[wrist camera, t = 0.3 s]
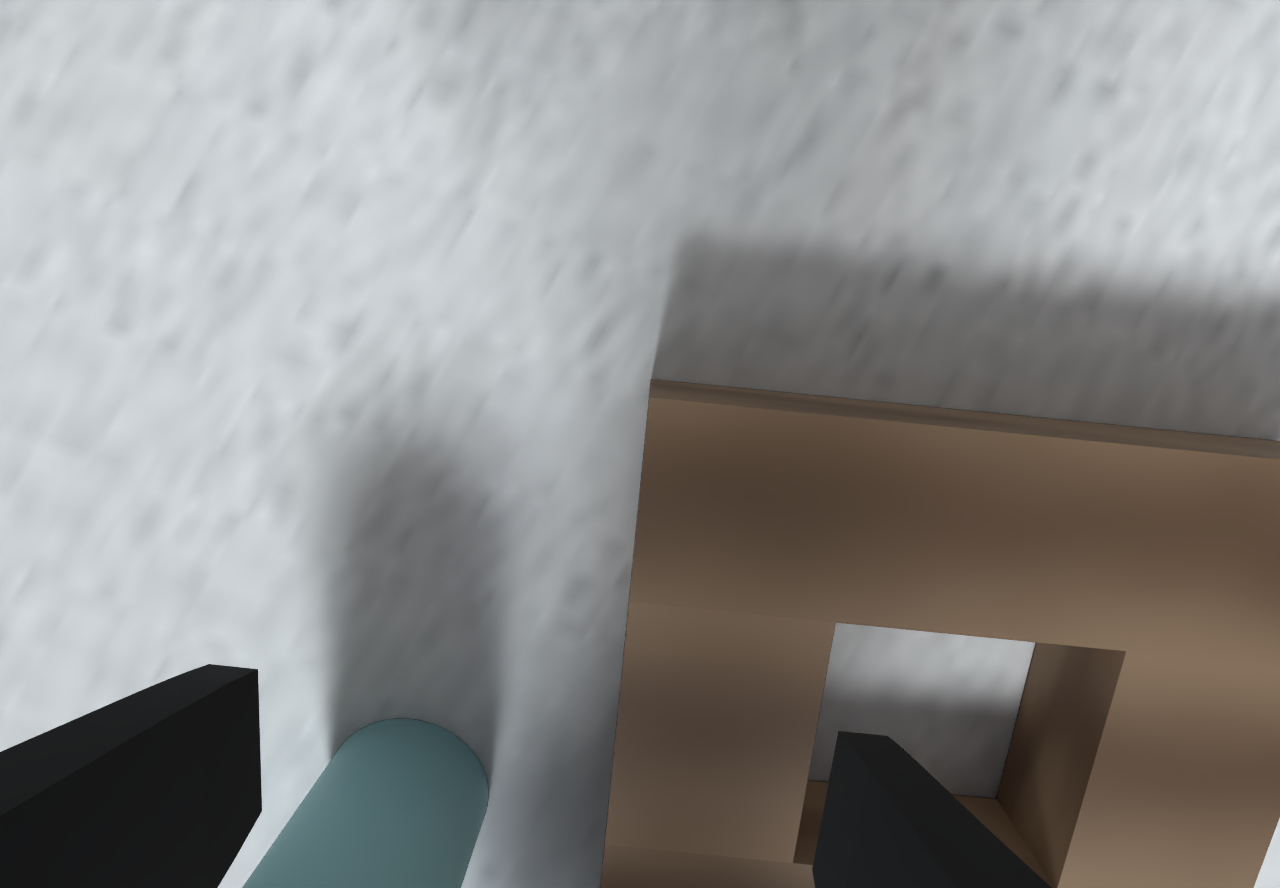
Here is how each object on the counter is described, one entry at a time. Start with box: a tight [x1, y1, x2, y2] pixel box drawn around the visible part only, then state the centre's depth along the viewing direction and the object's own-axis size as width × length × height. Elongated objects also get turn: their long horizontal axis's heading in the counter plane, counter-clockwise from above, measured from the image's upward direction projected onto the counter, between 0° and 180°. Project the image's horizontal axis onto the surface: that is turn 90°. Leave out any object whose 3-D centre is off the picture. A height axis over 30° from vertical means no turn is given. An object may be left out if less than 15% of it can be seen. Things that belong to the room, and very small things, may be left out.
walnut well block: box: [600, 379, 1280, 888], centre depth 17 cm, size 16×16×3 cm
